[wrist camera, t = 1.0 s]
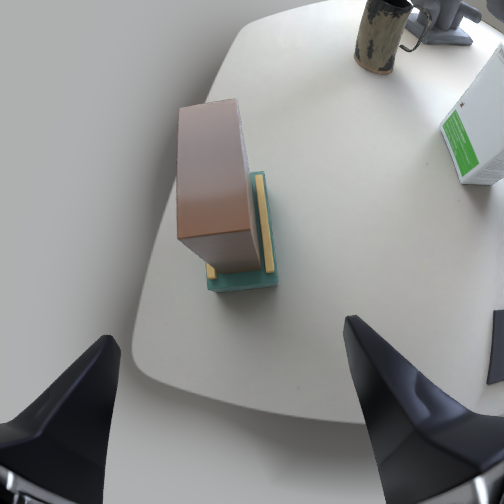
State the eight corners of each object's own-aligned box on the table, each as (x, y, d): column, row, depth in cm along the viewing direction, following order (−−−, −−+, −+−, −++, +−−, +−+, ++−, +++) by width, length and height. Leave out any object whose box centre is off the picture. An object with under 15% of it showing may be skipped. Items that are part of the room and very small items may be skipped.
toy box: (277, 285, 23) (278, 280, 20) (215, 292, 24) (205, 288, 20) (265, 186, 25) (263, 166, 22) (208, 194, 26) (198, 175, 22)
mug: (345, 55, 29) (359, -16, 17) (366, 45, 29) (383, -19, 18) (393, 89, 27) (423, 17, 16) (412, 76, 28) (440, 12, 16)
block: (261, 270, 21) (251, 229, 11) (221, 274, 21) (176, 239, 11) (251, 183, 22) (236, 97, 13) (214, 188, 22) (178, 108, 13)
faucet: (453, 73, 28) (500, -15, 8) (390, 17, 31) (411, -66, 12) (496, 70, 28) (535, 8, 9) (444, 20, 32) (468, -43, 12)
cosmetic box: (437, 125, 26) (495, 37, 11) (472, 130, 26) (531, 58, 10) (461, 187, 24) (547, 110, 9) (495, 188, 24) (574, 126, 8)
